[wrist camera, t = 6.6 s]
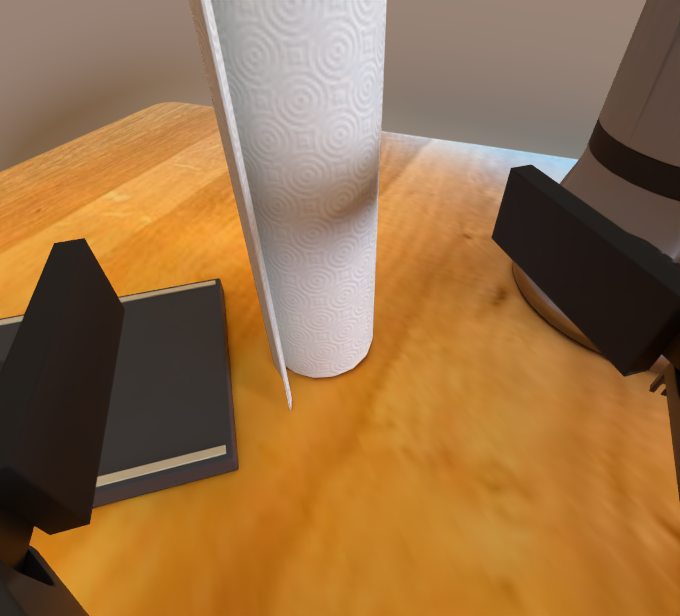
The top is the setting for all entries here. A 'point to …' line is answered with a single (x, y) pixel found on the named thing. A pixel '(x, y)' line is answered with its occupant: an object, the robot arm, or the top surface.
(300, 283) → the paper towel roll
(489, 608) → the top surface
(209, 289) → the grid board
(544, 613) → the top surface
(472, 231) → the top surface
